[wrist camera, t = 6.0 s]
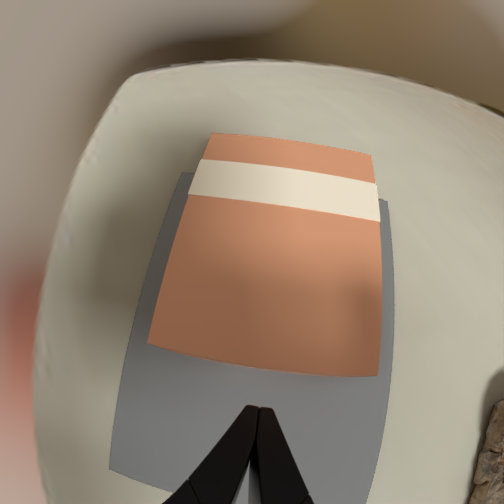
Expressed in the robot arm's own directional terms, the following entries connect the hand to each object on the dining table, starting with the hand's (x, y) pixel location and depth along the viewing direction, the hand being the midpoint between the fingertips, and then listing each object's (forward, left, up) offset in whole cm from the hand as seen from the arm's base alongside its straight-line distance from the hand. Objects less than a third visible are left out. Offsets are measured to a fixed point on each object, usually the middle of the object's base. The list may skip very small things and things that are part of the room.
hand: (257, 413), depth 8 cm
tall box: (+1, +1, -4) cm, 5 cm away
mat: (+3, +2, -7) cm, 8 cm away
